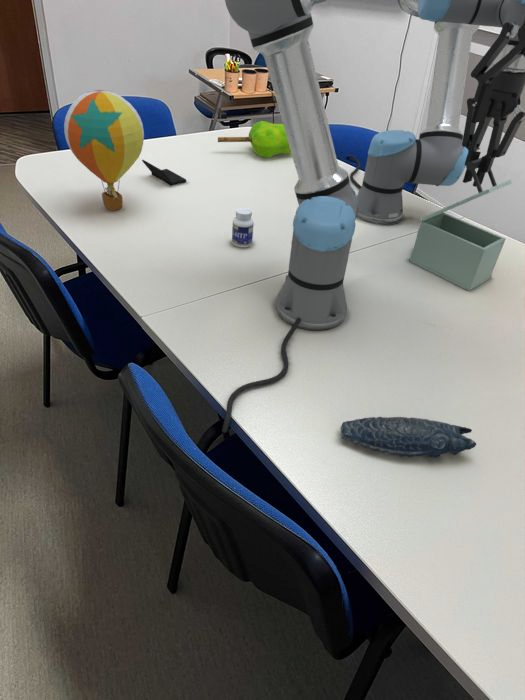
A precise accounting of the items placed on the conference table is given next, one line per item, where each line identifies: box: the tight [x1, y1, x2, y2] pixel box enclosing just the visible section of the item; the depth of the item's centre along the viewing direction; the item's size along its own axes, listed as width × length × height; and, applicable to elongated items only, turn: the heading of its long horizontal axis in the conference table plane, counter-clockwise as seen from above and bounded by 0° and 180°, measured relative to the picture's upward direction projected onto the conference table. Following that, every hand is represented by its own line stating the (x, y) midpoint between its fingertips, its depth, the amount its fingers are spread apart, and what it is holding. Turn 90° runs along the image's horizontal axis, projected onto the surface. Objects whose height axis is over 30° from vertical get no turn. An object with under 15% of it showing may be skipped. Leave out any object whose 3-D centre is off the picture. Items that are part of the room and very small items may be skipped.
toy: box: [63, 89, 145, 212], centre depth 136 cm, size 20×20×30 cm
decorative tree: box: [217, 120, 292, 159], centre depth 187 cm, size 18×10×30 cm
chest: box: [409, 212, 507, 292], centre depth 129 cm, size 17×10×11 cm, turn 42°
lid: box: [420, 157, 512, 221], centre depth 122 cm, size 18×10×8 cm
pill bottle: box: [231, 207, 255, 248], centre depth 132 cm, size 5×5×9 cm
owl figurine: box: [340, 416, 477, 458], centre depth 82 cm, size 7×21×5 cm, turn 84°
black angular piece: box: [141, 159, 187, 187], centre depth 162 cm, size 12×7×10 cm
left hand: (509, 131), depth 96 cm, fingers open, 13 cm apart
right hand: (472, 183), depth 119 cm, fingers closed on lid, 2 cm apart
